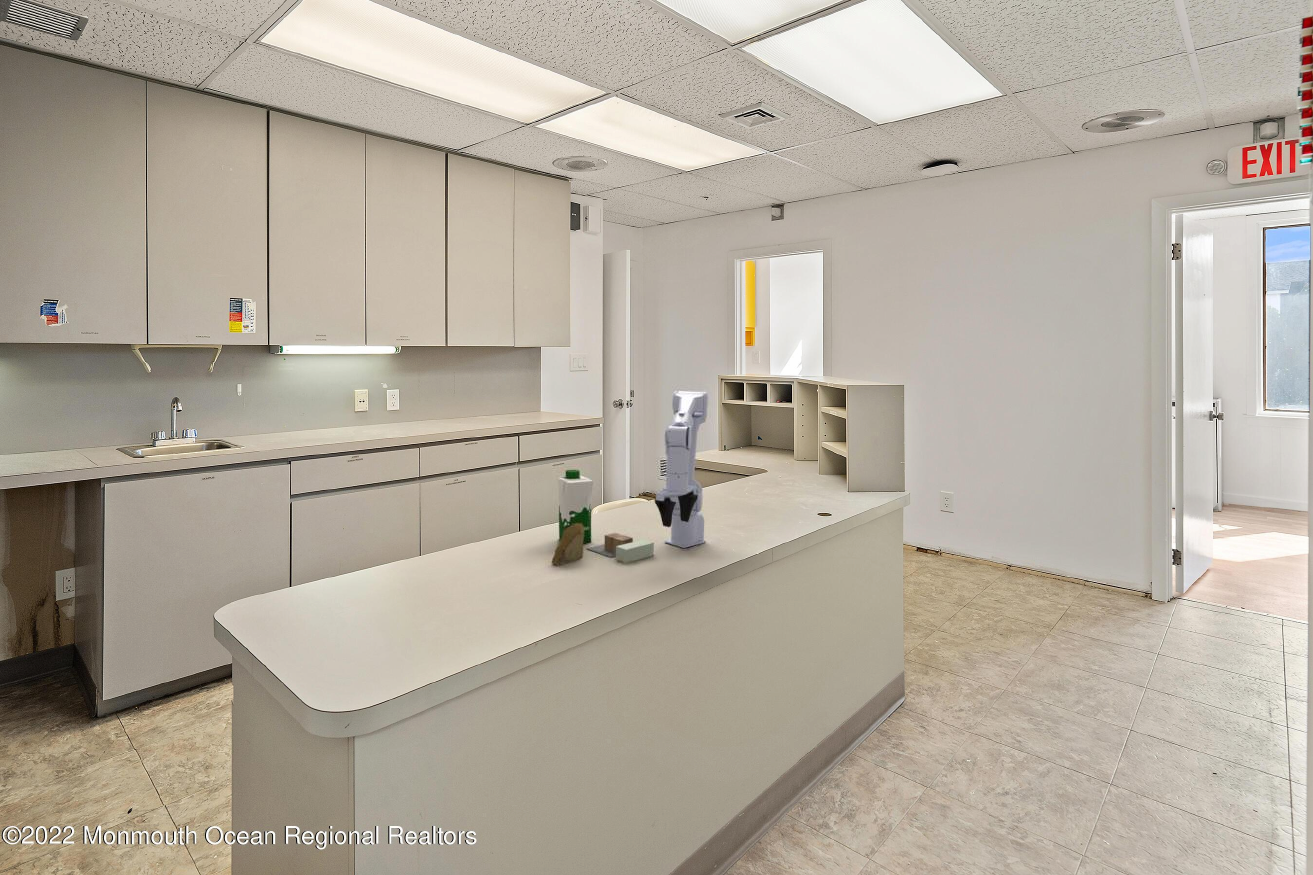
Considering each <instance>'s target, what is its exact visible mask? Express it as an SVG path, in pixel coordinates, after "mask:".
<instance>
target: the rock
mask: <svg viewBox="0 0 1313 875" xmlns="http://www.w3.org/2000/svg"><path fill="white" fill-rule="evenodd" d="M583 540H584V526H583V524H582V523H579V524H578V523H576V524H573V525H571V526H570V527H568V528H567V529H565V530H564V531H563V536H562V538H561V540H560V541H559V543H558V545H557V546H556V549H555V551H554V555H553V557H552V559H551V562H550V563H551V564H554V565H556V566H560V565H564V564H568V563H569V561H570V562H573V560H574V561H576V560H578V559H581V558H583V556H584V543H583Z"/></svg>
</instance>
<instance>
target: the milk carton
mask: <svg viewBox="0 0 1313 875" xmlns="http://www.w3.org/2000/svg"><path fill="white" fill-rule="evenodd" d="M580 472H581V471H580V470H578V469H566V470H565V476H564V477H558V478H557V480H558V481H557V483H558V538H559V540H560V541H561V538H562V536H563V531H564V530H565V529H567V528H568V527H570V526H571V525H573V524H576V523H578V524H579V523H582V524H583V526H584V540H583V544H585V543H587V544H588V543H592V499H593V498H592V497H593V496H592V493H593V492H592V491H593V485H594V480H592V479H590V477H589V478H588V477H586V476H582V475H581V473H580Z"/></svg>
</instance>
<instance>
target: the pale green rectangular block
mask: <svg viewBox="0 0 1313 875" xmlns="http://www.w3.org/2000/svg"><path fill="white" fill-rule="evenodd" d="M654 547H655V542H653V541H649V540H646V539H640V540H636V541H633V542H632V543H628V544H624V545H619V546H616V556H615V560H616V561H620V562H622V563H626V564H627V563H631V562H635V561H639V560H641V559H646V558H649V557H652V556H655V555H654V552H655V550H654V549H655V548H654Z"/></svg>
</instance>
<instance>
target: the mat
mask: <svg viewBox="0 0 1313 875" xmlns="http://www.w3.org/2000/svg"><path fill="white" fill-rule="evenodd" d="M586 550H588V551H590V552H594V553H596V554H599V555H602V556H605V557H608V558H614V557H615V558H616V553H614V552H611V551H608V550H605V549H604V543H603V544H600V545H594V546H591V547H587V548H586Z"/></svg>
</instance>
